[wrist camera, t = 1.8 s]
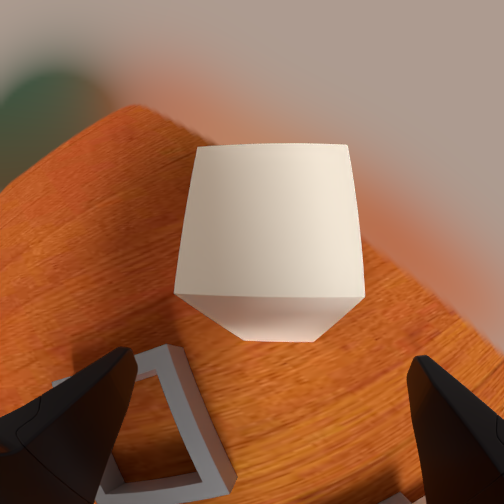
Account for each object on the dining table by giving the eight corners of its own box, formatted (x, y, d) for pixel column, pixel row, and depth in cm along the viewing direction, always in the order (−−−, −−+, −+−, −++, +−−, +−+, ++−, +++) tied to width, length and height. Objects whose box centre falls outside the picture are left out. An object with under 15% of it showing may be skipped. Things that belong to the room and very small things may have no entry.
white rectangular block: (313, 342, 19) (364, 296, 7) (244, 340, 19) (173, 293, 7) (313, 275, 20) (347, 145, 8) (247, 274, 21) (197, 147, 9)
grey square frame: (237, 477, 15) (229, 493, 13) (119, 496, 15) (99, 508, 12) (182, 347, 19) (166, 343, 16) (75, 383, 19) (51, 382, 16)
